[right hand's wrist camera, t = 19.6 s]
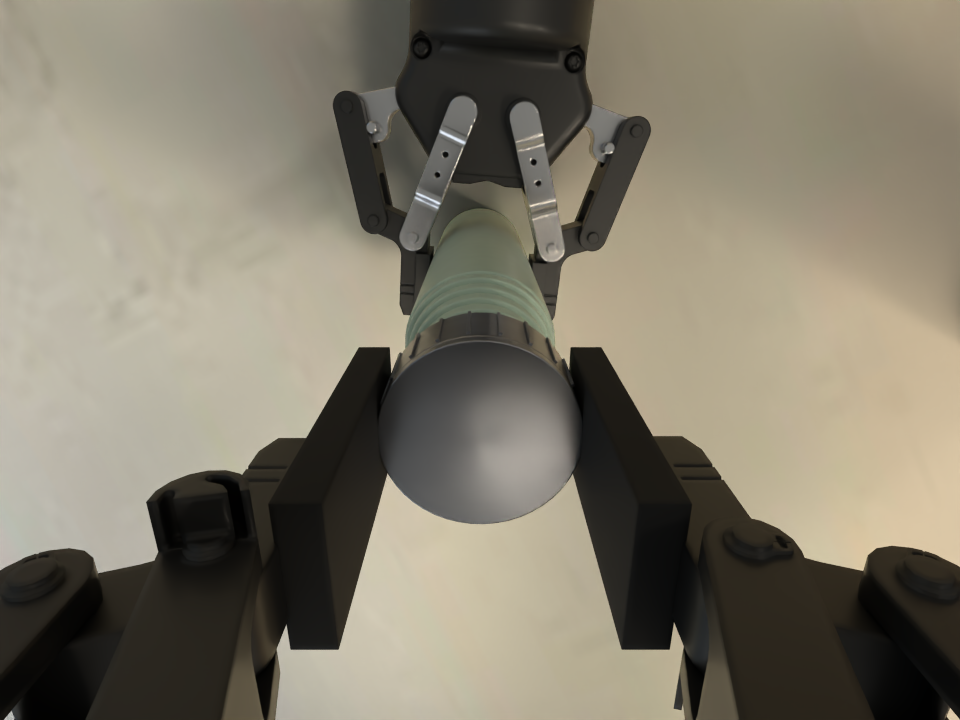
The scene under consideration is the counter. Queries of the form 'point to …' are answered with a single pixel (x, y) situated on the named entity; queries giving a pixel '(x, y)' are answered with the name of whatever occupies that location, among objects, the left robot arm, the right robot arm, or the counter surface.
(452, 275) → the bottle
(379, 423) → the cap
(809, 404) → the counter surface
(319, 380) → the counter surface
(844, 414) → the counter surface
